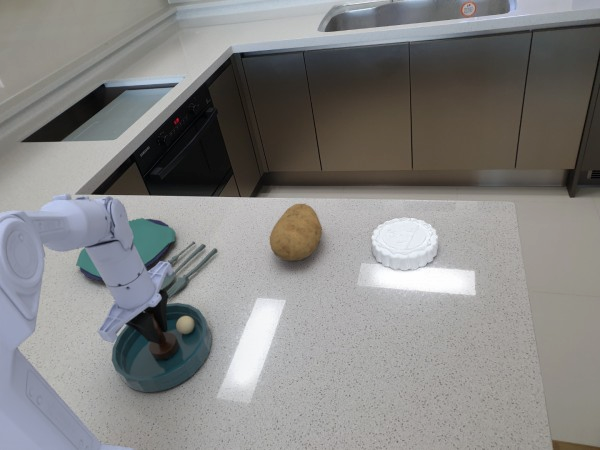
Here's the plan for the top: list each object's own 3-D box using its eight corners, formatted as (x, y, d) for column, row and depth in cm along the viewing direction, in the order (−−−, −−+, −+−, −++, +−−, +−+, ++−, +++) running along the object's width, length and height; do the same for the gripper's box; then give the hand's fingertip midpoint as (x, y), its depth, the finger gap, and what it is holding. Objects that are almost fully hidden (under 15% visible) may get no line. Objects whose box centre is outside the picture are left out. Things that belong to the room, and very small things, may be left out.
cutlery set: (135, 217, 110) (132, 209, 109) (227, 249, 95) (224, 240, 93) (64, 269, 98) (59, 261, 97) (155, 316, 82) (151, 307, 81)
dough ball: (185, 323, 74) (200, 319, 77) (174, 314, 76) (189, 311, 78) (181, 339, 75) (196, 335, 78) (171, 330, 77) (185, 326, 79)
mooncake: (385, 224, 92) (384, 210, 90) (445, 235, 87) (446, 220, 85) (362, 262, 85) (360, 248, 83) (426, 277, 79) (426, 262, 77)
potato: (330, 227, 95) (325, 195, 90) (317, 274, 84) (310, 241, 79) (285, 226, 98) (278, 195, 93) (267, 272, 87) (258, 240, 82)
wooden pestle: (165, 364, 72) (145, 327, 67) (146, 354, 75) (125, 318, 69) (184, 343, 75) (166, 306, 70) (165, 334, 77) (147, 298, 72)
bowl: (158, 411, 67) (150, 398, 65) (102, 365, 75) (93, 352, 73) (231, 338, 75) (225, 324, 73) (173, 305, 84) (166, 291, 82)
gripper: (110, 316, 58) (149, 379, 66) (176, 243, 68) (202, 306, 76) (71, 306, 61) (112, 368, 69) (139, 237, 71) (169, 298, 79)
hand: (157, 335), depth 73 cm, fingers closed on wooden pestle
